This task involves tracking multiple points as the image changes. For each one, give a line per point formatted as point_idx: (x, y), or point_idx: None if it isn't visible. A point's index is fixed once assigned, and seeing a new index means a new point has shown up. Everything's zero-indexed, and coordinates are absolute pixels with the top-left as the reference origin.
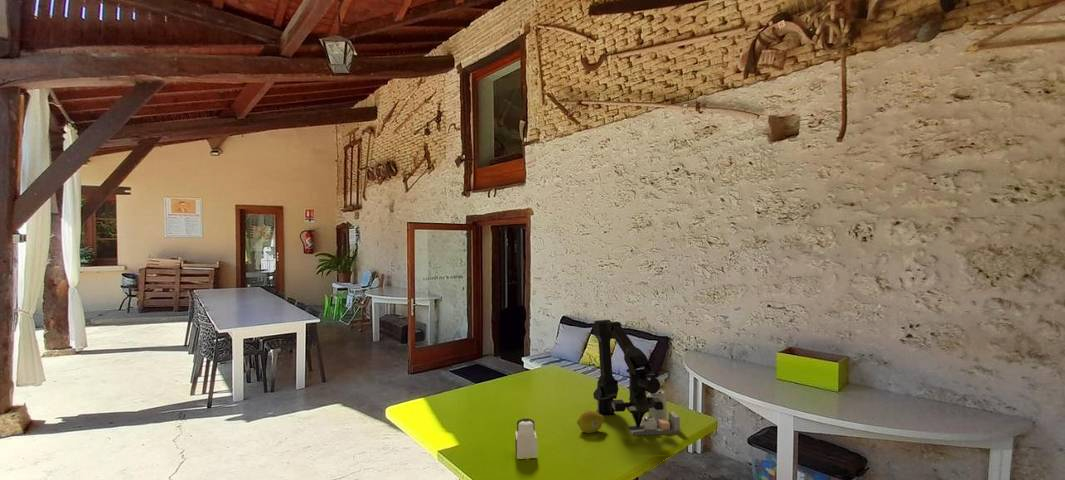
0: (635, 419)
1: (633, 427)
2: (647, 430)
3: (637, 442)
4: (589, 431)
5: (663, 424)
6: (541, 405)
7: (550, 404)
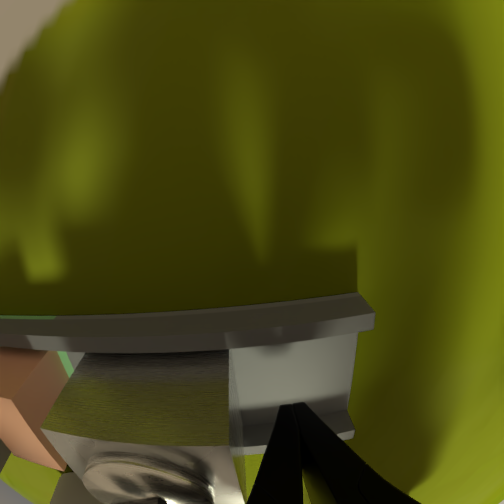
0: (365, 467)
1: None
2: (185, 358)
3: (358, 118)
4: None
5: (6, 389)
6: (501, 478)
7: (480, 492)
